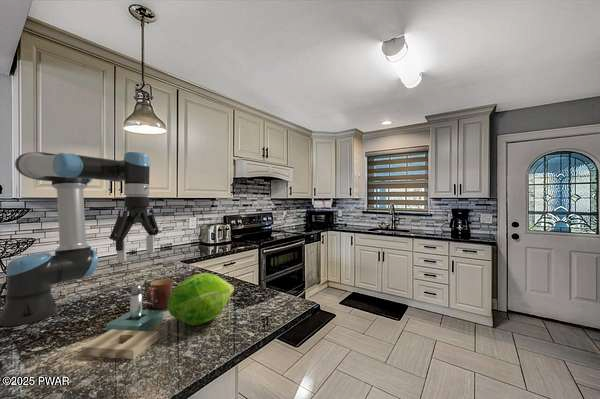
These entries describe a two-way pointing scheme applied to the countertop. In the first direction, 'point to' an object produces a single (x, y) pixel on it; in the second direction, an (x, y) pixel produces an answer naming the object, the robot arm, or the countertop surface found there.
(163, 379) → the countertop surface
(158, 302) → the mug
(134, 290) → the metal cylinder rod
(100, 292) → the countertop surface
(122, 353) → the wooden square-hole plate
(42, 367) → the countertop surface
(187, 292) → the lettuce
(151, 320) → the socket
